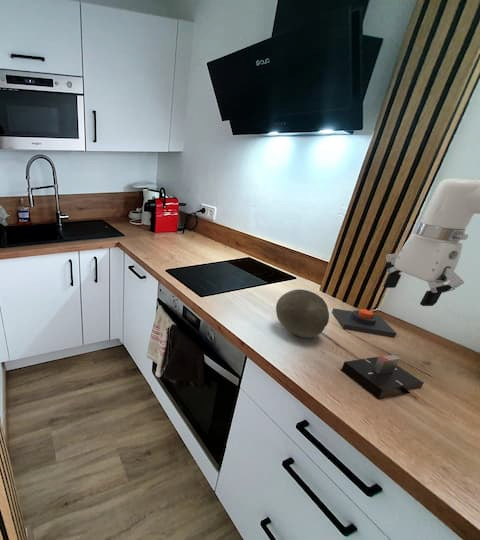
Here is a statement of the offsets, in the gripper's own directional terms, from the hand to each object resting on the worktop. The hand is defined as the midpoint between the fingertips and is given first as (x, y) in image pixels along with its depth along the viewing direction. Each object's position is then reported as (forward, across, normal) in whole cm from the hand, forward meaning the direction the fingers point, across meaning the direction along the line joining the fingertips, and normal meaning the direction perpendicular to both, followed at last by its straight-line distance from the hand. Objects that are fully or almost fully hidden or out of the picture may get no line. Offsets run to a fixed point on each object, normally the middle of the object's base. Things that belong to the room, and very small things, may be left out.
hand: (406, 295), depth 75 cm
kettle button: (+16, +15, -9) cm, 24 cm away
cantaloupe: (+21, +13, +16) cm, 30 cm away
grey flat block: (+21, +15, -9) cm, 27 cm away
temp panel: (+21, -8, +7) cm, 23 cm away
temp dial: (+18, -8, +7) cm, 21 cm away
